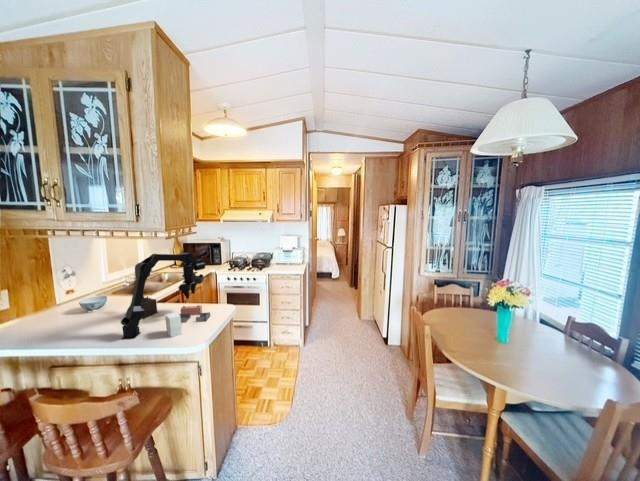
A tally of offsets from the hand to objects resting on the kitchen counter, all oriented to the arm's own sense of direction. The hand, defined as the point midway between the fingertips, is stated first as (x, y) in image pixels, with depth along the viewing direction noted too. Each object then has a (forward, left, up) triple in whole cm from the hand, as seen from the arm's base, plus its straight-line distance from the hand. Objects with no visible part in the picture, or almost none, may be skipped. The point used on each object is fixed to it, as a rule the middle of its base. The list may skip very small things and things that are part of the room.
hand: (190, 296), depth 173 cm
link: (0, +1, -13) cm, 13 cm away
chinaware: (-71, +19, -13) cm, 75 cm away
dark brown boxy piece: (-34, +6, -13) cm, 36 cm away
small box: (0, -26, -13) cm, 29 cm away
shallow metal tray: (+4, -8, -12) cm, 15 cm away
